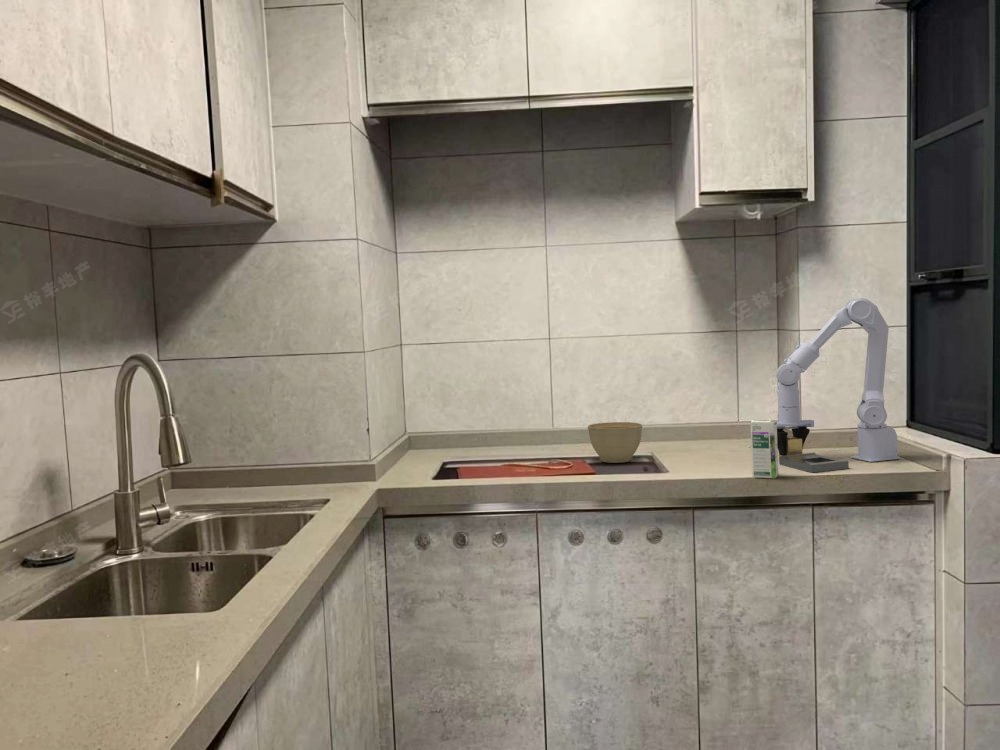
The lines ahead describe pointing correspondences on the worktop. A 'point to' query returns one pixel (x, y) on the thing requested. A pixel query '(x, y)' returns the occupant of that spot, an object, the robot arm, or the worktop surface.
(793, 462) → the rail plate
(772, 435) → the syrup box
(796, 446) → the block
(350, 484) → the worktop surface
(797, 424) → the robot arm
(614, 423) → the planter bowl
